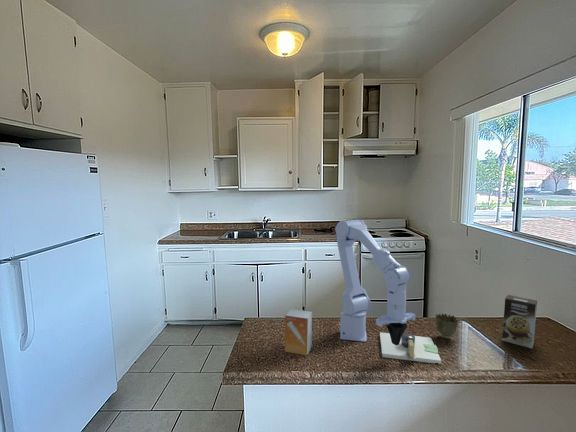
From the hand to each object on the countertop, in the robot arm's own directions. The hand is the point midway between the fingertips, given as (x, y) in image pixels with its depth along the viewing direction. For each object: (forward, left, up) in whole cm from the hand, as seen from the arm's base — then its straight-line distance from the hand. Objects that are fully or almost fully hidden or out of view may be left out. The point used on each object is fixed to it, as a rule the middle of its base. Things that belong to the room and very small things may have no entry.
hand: (395, 343), depth 104 cm
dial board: (+5, +7, -5) cm, 10 cm away
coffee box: (+45, +22, -5) cm, 50 cm away
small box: (-32, -3, -5) cm, 33 cm away
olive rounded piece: (+20, +19, -5) cm, 28 cm away
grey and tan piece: (+5, +4, -3) cm, 7 cm away
